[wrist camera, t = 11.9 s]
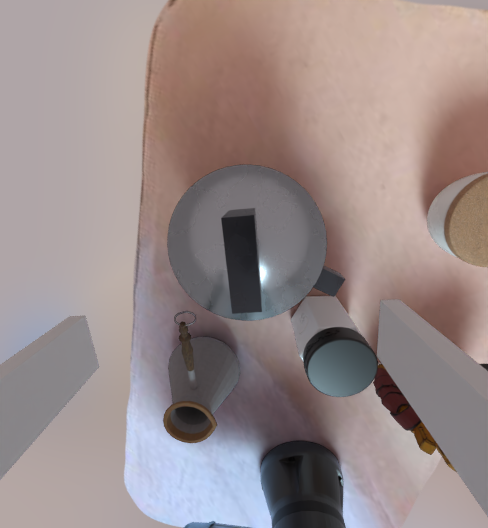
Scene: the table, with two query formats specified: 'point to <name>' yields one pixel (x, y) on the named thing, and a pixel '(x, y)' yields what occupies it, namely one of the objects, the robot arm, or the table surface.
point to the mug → (404, 412)
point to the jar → (332, 347)
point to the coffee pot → (198, 384)
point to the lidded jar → (462, 219)
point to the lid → (247, 242)
